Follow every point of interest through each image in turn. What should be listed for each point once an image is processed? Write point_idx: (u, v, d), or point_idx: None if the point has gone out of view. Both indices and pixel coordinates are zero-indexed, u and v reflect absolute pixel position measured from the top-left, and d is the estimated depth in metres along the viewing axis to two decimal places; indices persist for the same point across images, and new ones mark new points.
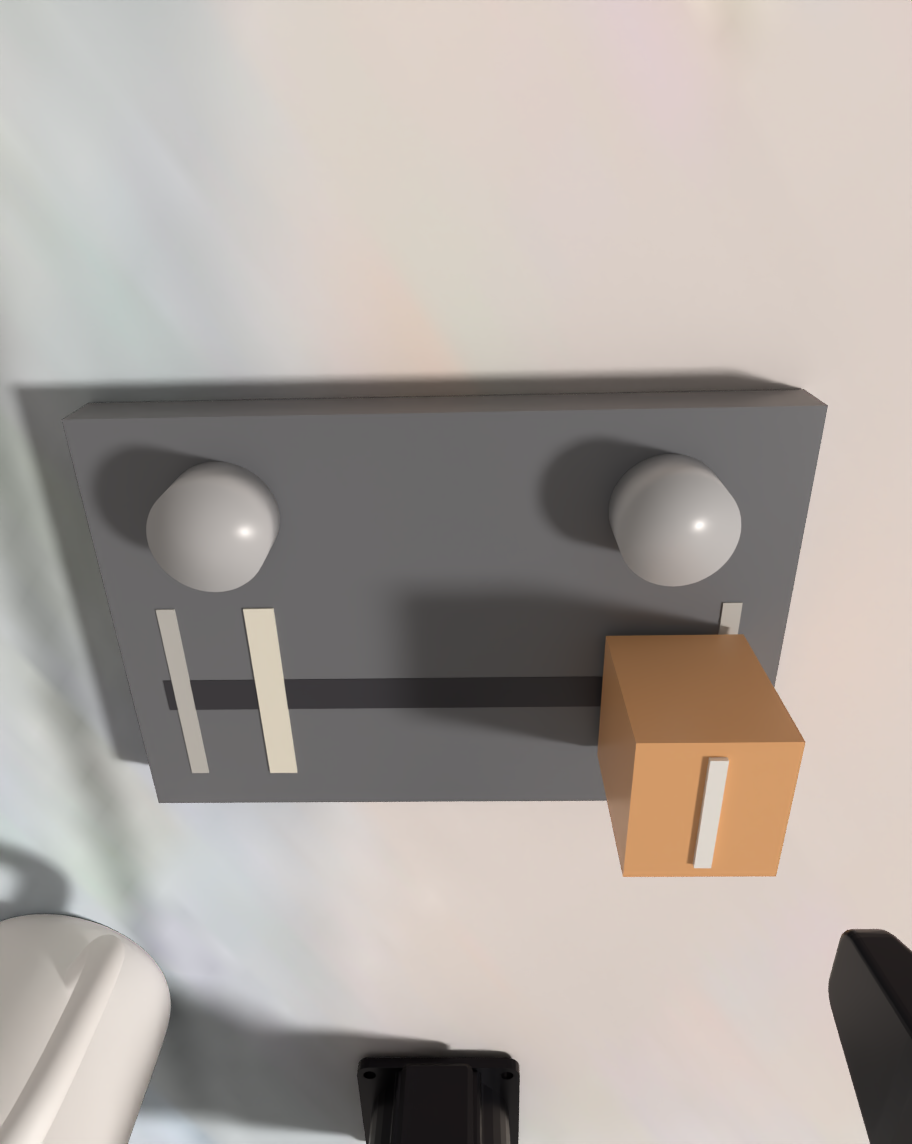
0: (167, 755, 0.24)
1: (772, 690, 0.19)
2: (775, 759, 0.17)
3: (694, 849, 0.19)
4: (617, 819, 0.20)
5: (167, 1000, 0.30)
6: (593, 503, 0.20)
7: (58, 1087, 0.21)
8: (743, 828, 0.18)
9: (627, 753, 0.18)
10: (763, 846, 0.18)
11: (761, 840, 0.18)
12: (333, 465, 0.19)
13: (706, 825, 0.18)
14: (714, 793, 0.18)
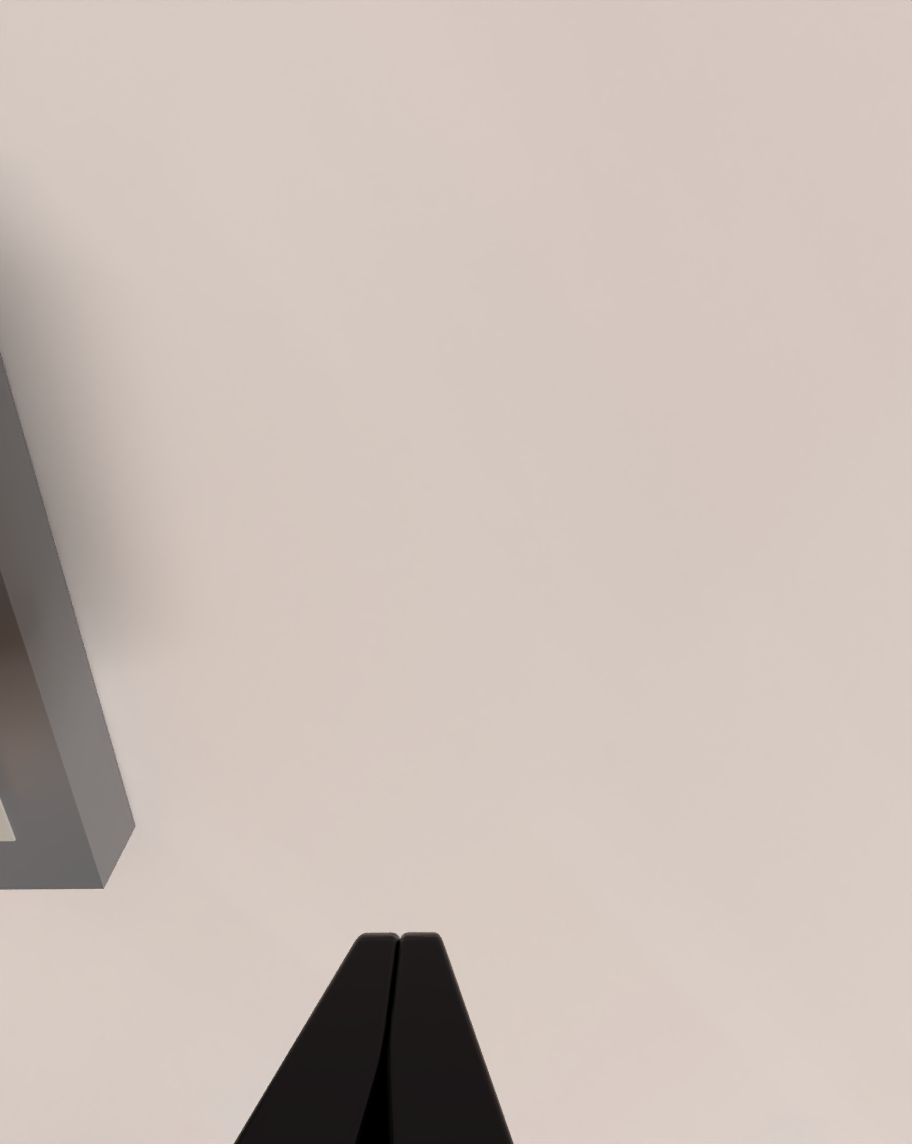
0: None
1: None
2: None
3: None
4: None
5: None
6: None
7: None
8: None
9: None
10: None
11: None
12: None
13: None
14: None
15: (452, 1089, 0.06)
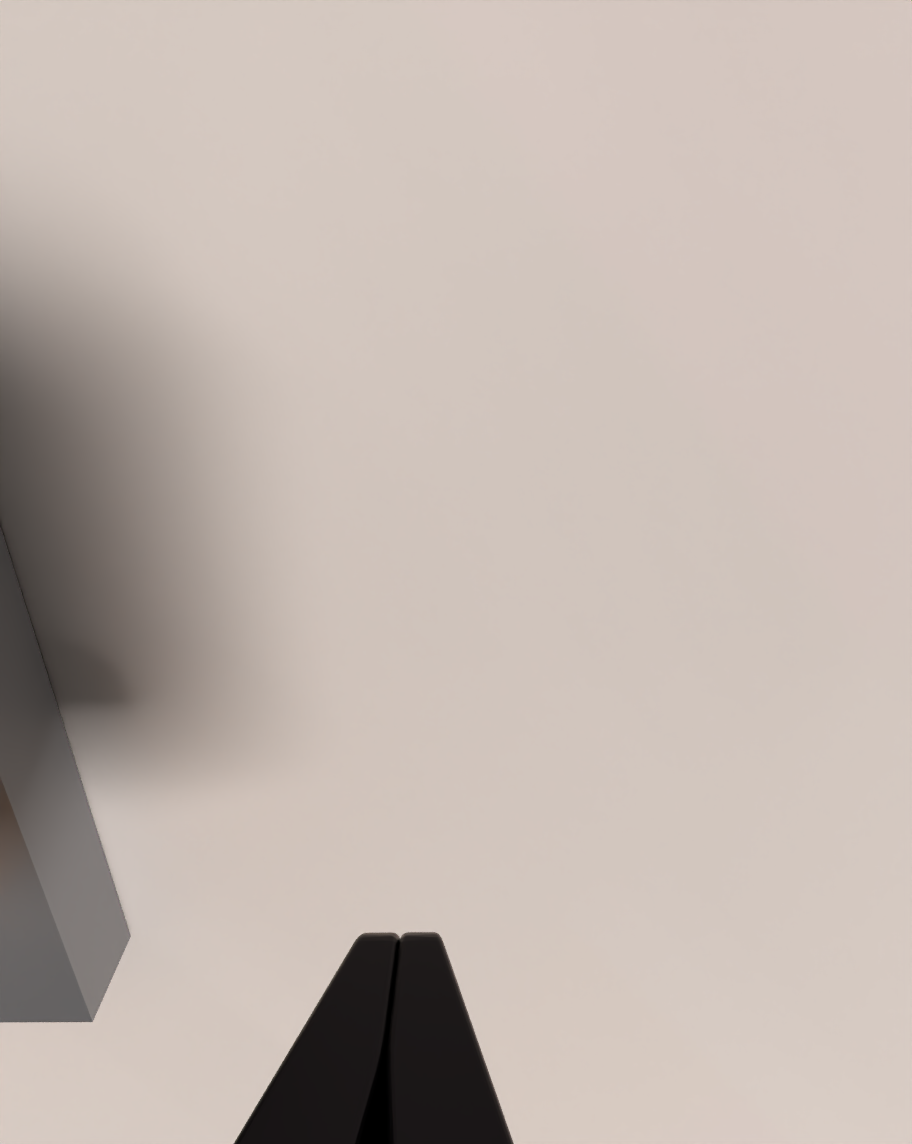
0: None
1: None
2: None
3: None
4: None
5: None
6: None
7: None
8: None
9: None
10: None
11: None
12: None
13: None
14: None
15: (452, 1089, 0.06)
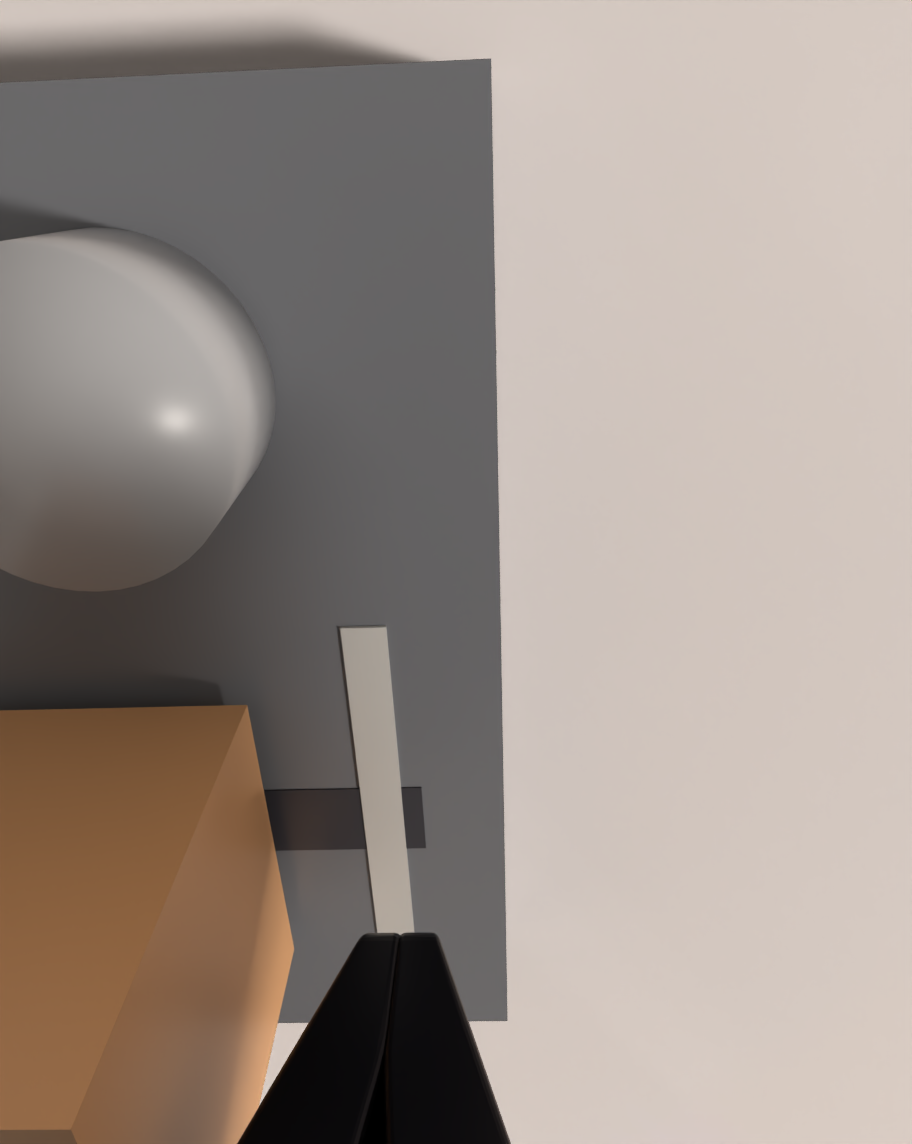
0: None
1: (161, 887, 0.07)
2: None
3: None
4: None
5: None
6: None
7: None
8: None
9: None
10: None
11: None
12: None
13: None
14: None
15: (449, 1089, 0.06)
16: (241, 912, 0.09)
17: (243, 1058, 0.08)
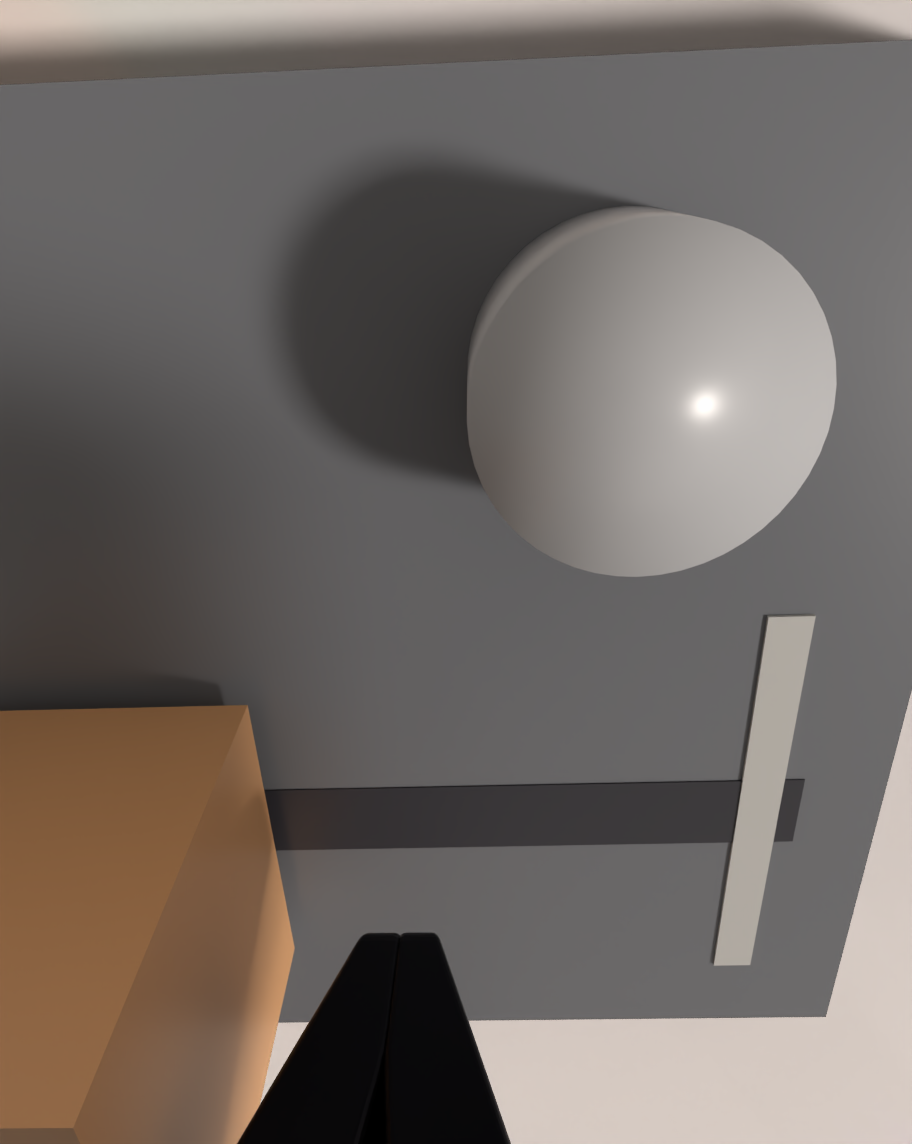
0: None
1: (162, 886, 0.07)
2: None
3: None
4: None
5: None
6: (426, 361, 0.07)
7: None
8: None
9: None
10: None
11: None
12: None
13: None
14: None
15: (450, 1089, 0.06)
16: (242, 912, 0.09)
17: (245, 1057, 0.08)
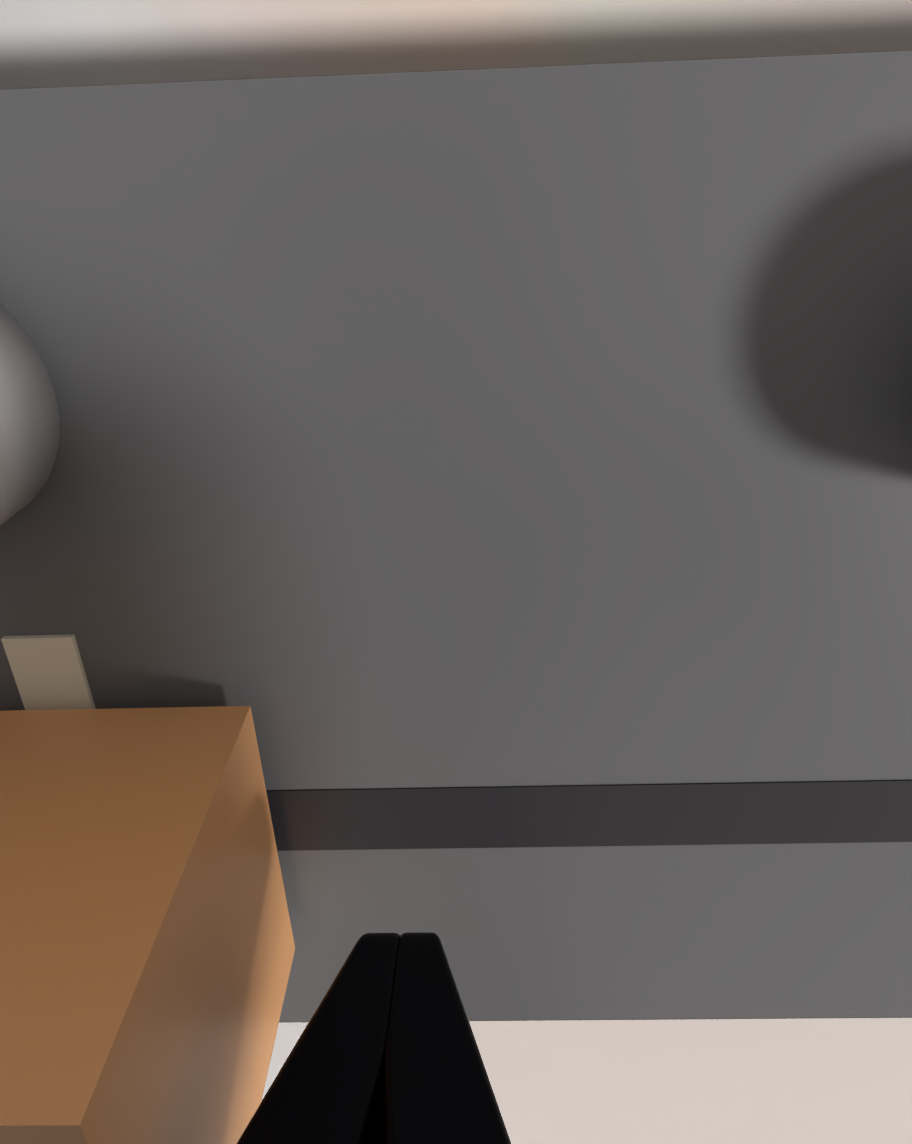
0: None
1: (167, 886, 0.07)
2: None
3: None
4: None
5: None
6: (883, 351, 0.07)
7: None
8: None
9: None
10: None
11: None
12: (182, 248, 0.07)
13: None
14: None
15: (450, 1089, 0.06)
16: (244, 912, 0.09)
17: (246, 1057, 0.09)
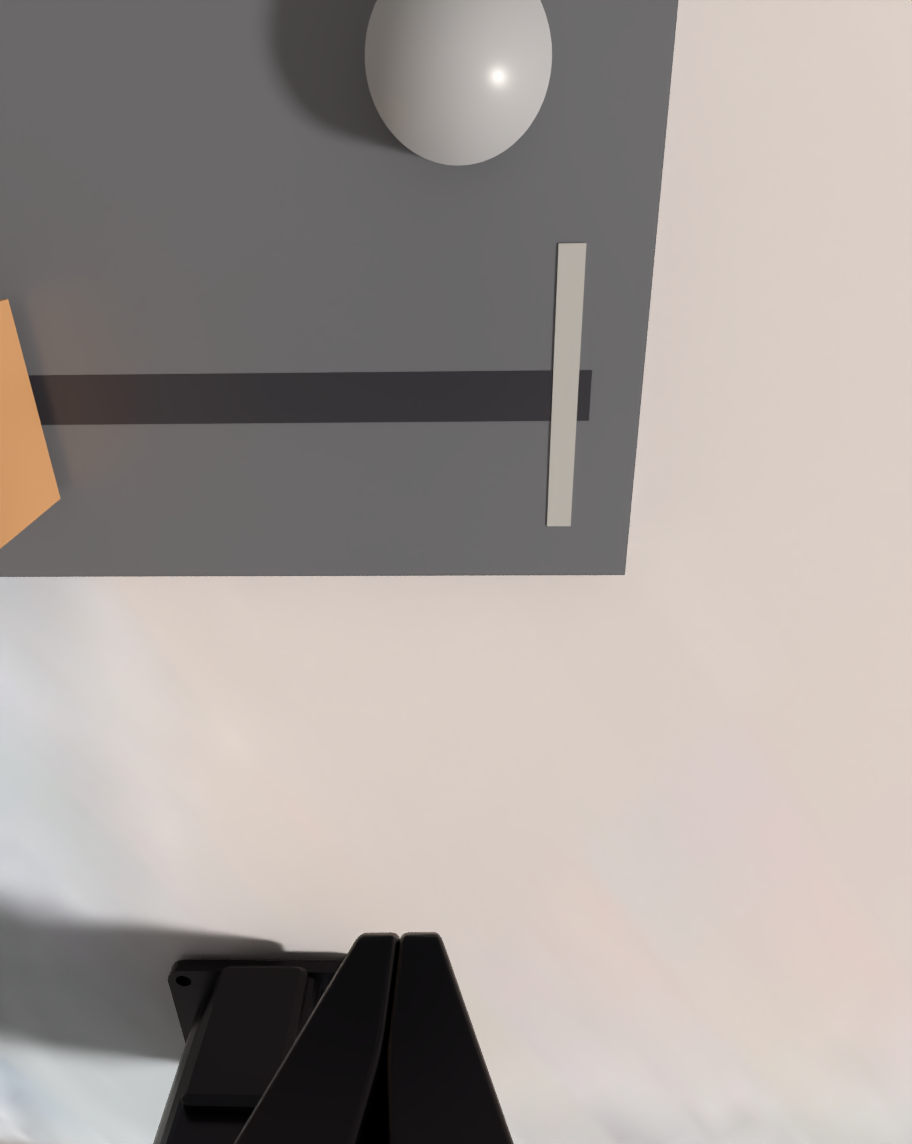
0: None
1: None
2: None
3: None
4: None
5: None
6: (352, 61, 0.13)
7: None
8: None
9: None
10: None
11: None
12: None
13: None
14: None
15: (453, 1089, 0.06)
16: None
17: None
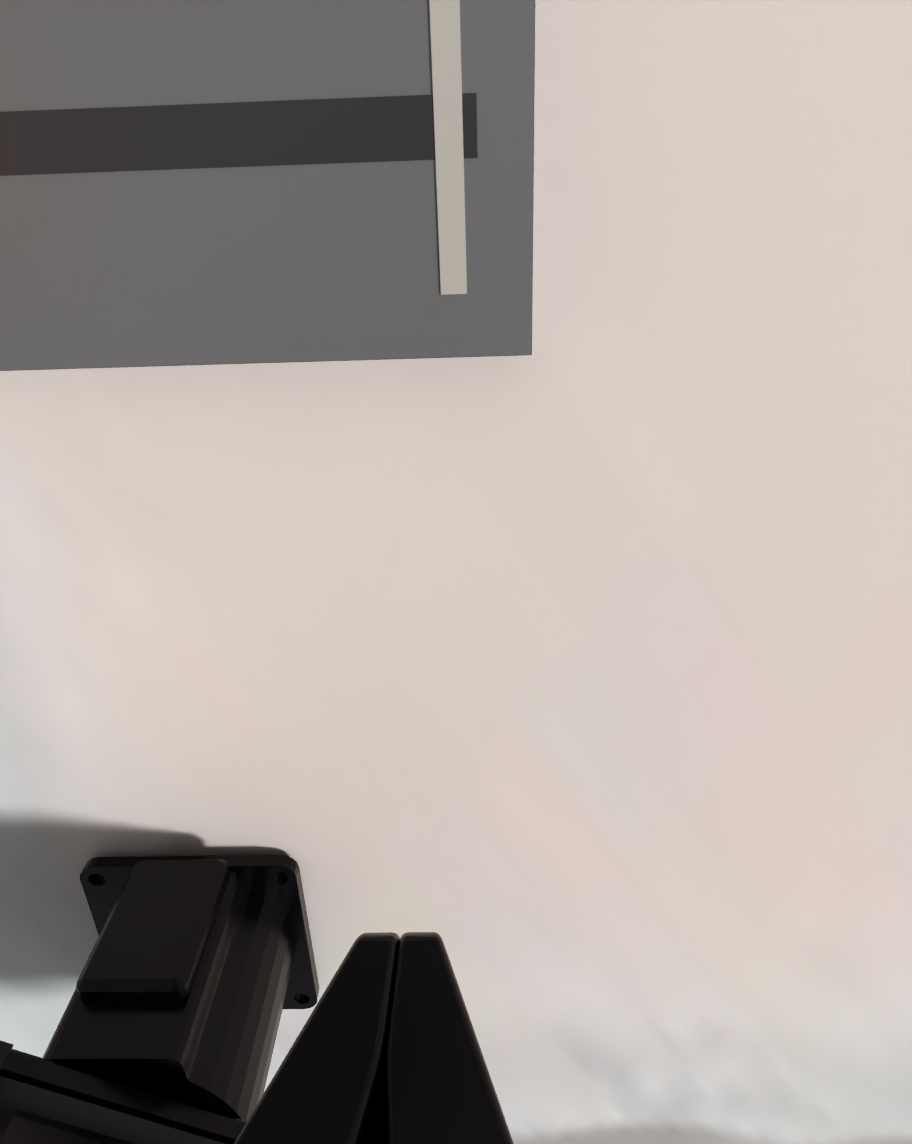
0: None
1: None
2: None
3: None
4: None
5: None
6: None
7: None
8: None
9: None
10: None
11: None
12: None
13: None
14: None
15: (452, 1089, 0.06)
16: None
17: None
